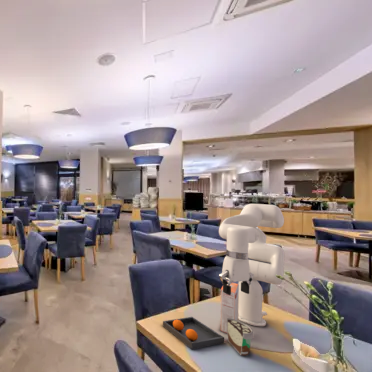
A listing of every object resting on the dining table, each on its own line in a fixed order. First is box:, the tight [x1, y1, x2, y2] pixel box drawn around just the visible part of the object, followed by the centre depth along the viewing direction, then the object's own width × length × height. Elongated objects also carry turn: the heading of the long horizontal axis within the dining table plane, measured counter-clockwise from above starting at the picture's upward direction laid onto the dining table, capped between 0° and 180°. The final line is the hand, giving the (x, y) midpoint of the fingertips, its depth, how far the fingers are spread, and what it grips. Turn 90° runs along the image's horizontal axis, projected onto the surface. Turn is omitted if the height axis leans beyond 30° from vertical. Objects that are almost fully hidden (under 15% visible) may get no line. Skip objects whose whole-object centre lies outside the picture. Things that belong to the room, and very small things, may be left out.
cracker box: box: [220, 280, 239, 334], centre depth 115 cm, size 14×6×21 cm, turn 134°
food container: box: [226, 318, 255, 357], centre depth 100 cm, size 12×6×10 cm, turn 168°
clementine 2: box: [186, 329, 198, 341], centre depth 104 cm, size 5×5×5 cm
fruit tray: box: [162, 316, 225, 350], centre depth 109 cm, size 18×17×3 cm
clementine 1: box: [173, 319, 184, 331], centre depth 112 cm, size 5×5×5 cm
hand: (235, 293), depth 103 cm, fingers open, 9 cm apart
